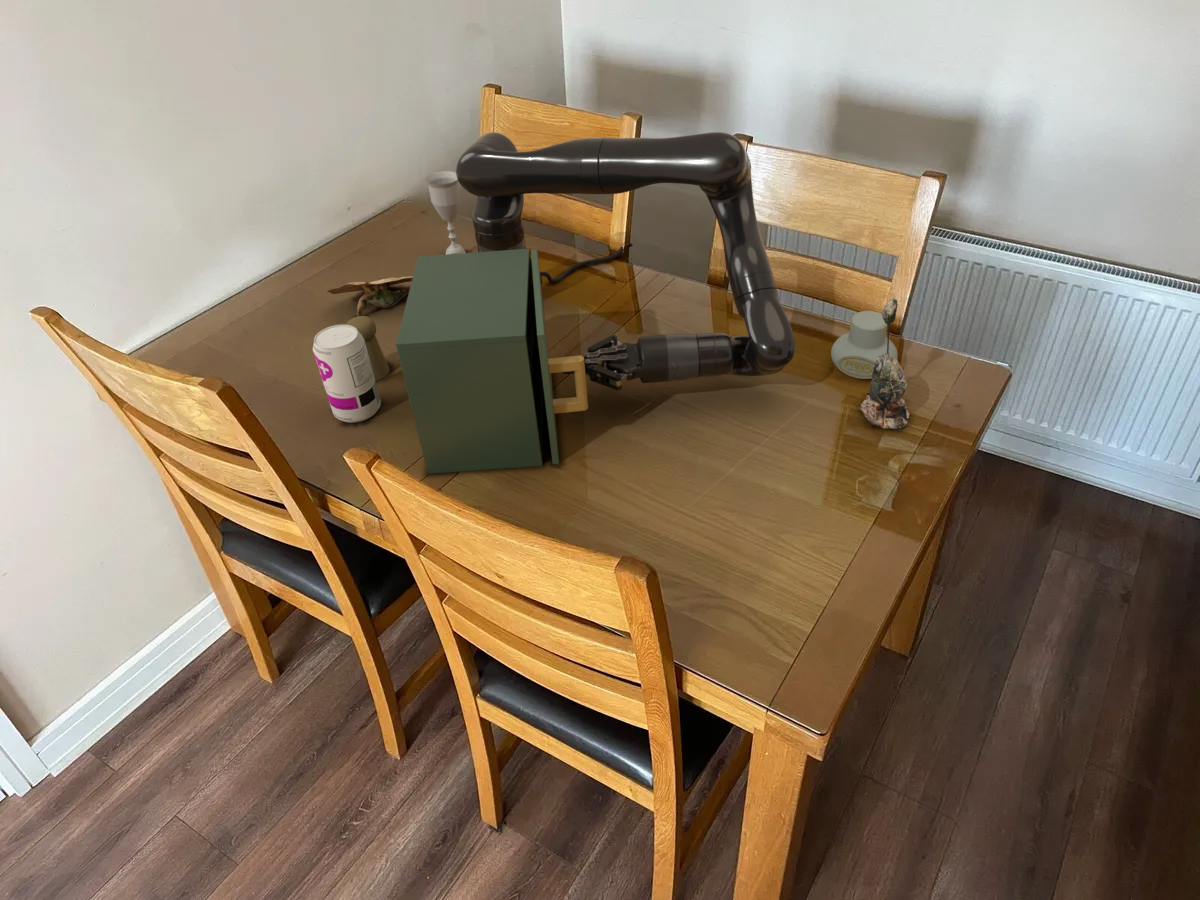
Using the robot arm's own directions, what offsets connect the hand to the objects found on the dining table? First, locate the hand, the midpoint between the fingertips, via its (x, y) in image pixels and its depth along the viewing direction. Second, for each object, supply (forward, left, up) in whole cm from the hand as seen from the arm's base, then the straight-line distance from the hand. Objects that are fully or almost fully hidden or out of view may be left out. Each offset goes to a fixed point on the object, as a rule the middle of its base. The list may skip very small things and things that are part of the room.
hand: (561, 365), depth 141 cm
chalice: (-21, -60, -9) cm, 64 cm away
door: (0, +1, -9) cm, 9 cm away
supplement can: (+24, -27, -9) cm, 37 cm away
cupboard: (+10, -8, -9) cm, 16 cm away
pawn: (+16, -35, -9) cm, 39 cm away
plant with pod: (-34, +39, -9) cm, 53 cm away
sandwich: (+2, -56, -9) cm, 56 cm away
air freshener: (-43, +29, -9) cm, 53 cm away
